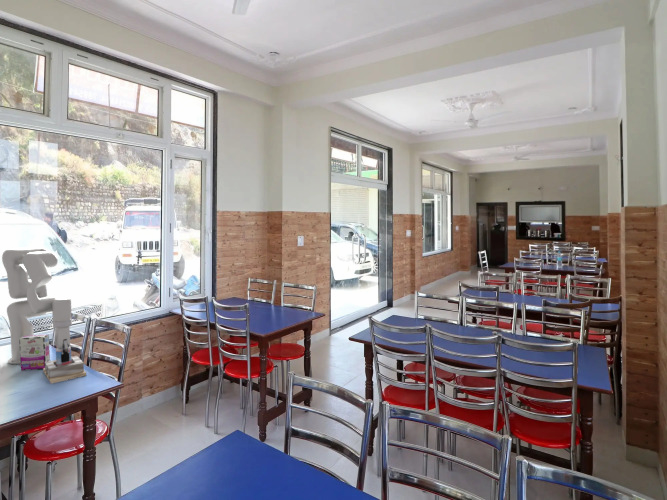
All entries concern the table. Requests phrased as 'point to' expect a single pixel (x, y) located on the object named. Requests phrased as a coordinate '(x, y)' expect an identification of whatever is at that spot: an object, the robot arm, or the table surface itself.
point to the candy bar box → (34, 351)
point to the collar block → (64, 370)
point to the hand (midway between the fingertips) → (63, 359)
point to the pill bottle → (58, 357)
